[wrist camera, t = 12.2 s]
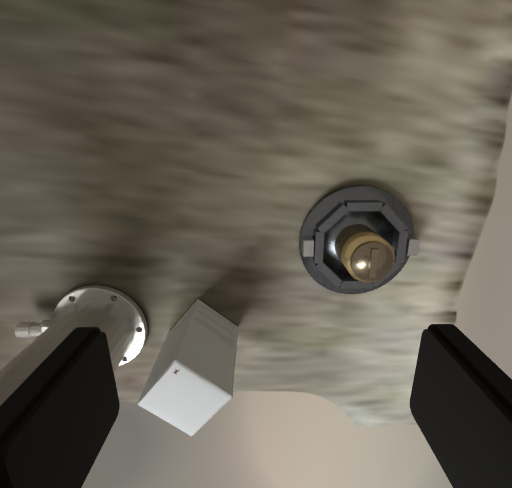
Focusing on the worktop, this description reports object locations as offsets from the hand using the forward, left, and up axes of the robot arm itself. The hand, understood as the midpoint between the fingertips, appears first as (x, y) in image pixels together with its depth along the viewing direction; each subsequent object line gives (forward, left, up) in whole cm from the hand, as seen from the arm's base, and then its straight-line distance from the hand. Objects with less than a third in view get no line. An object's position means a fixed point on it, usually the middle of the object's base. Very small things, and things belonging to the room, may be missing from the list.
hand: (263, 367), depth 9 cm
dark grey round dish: (+12, -6, -30) cm, 33 cm away
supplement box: (-8, -19, -31) cm, 37 cm away
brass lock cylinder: (+12, -6, -29) cm, 32 cm away
